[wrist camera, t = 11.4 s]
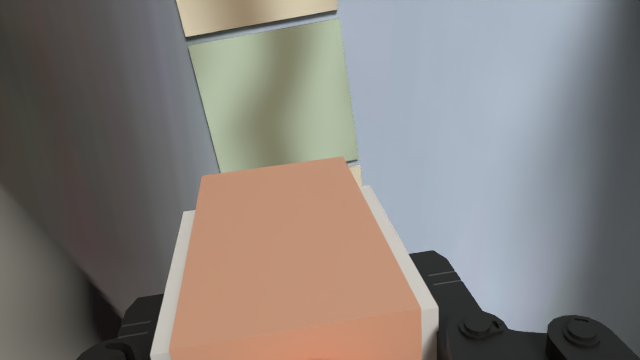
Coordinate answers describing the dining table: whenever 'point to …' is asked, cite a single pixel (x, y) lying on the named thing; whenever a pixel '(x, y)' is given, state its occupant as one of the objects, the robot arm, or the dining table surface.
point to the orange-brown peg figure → (291, 272)
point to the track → (272, 84)
